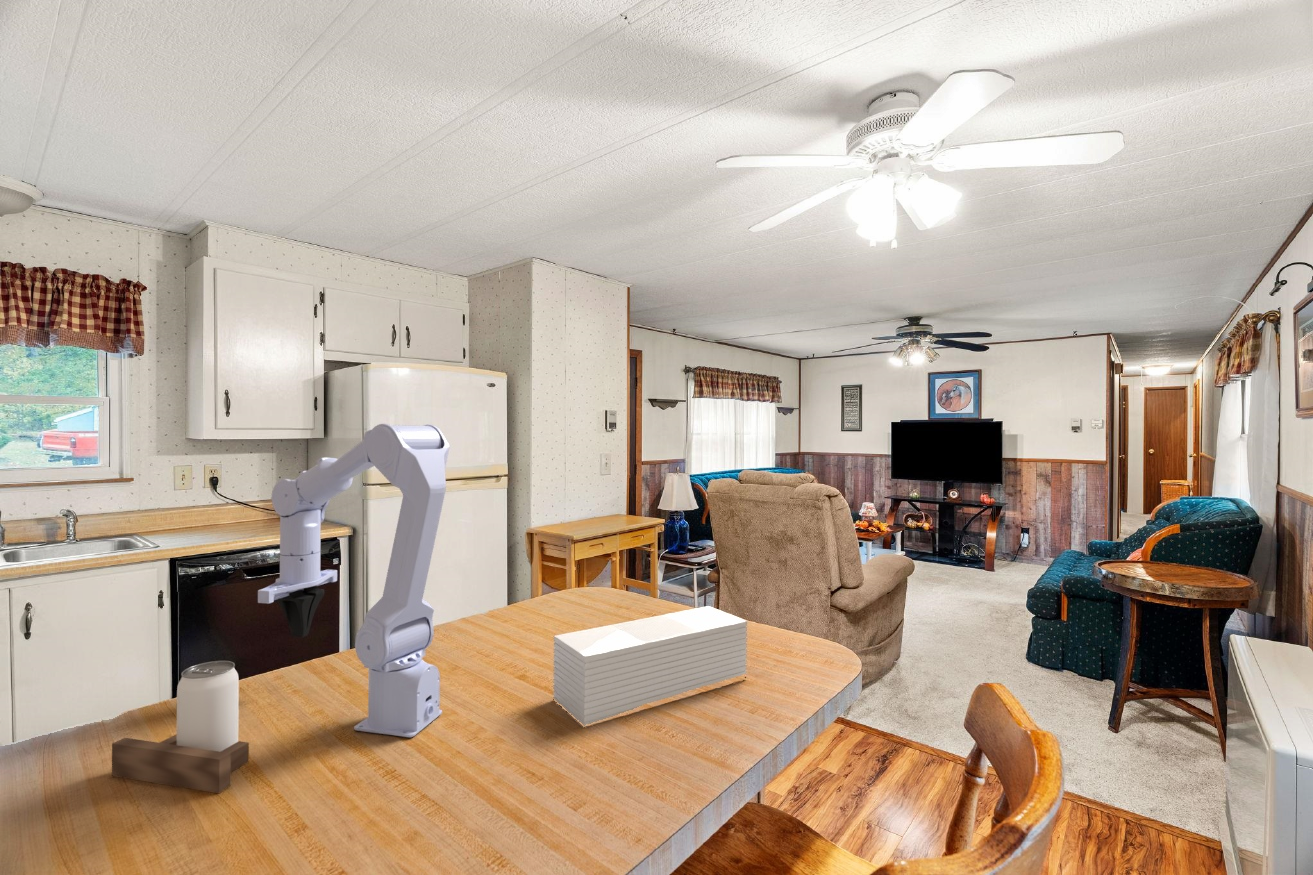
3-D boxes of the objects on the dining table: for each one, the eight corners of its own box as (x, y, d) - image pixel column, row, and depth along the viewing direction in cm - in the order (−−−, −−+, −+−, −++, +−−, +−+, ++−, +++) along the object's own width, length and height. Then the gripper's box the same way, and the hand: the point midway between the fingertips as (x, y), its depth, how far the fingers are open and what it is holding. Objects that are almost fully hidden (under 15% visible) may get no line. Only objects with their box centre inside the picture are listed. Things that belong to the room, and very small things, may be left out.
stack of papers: (707, 662, 117) (708, 605, 117) (746, 681, 108) (747, 620, 108) (553, 702, 99) (553, 635, 98) (584, 729, 90) (584, 656, 90)
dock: (264, 764, 79) (265, 733, 79) (219, 793, 73) (219, 759, 73) (164, 749, 82) (164, 719, 82) (111, 775, 76) (112, 743, 76)
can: (208, 776, 76) (209, 680, 76) (162, 771, 77) (163, 676, 77) (250, 750, 82) (250, 661, 82) (207, 745, 83) (208, 657, 83)
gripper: (312, 543, 108) (312, 620, 108) (241, 560, 93) (240, 648, 94) (348, 545, 106) (347, 623, 106) (280, 562, 92) (279, 652, 92)
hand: (299, 635), depth 100 cm, fingers closed
